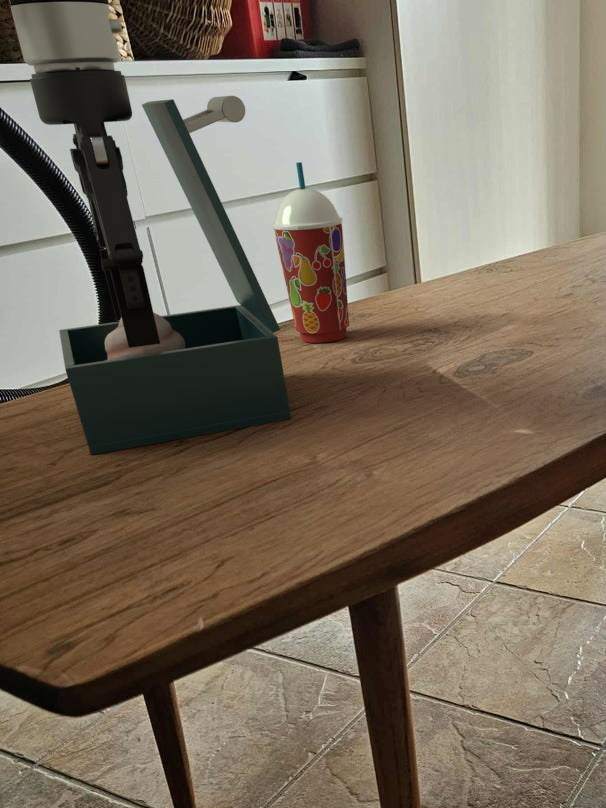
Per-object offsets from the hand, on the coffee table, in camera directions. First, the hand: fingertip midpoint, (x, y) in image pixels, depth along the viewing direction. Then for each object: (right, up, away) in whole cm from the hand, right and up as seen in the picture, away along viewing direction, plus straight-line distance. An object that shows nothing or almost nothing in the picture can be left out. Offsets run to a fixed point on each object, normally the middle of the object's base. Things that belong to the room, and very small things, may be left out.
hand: (137, 330), depth 86 cm
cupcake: (+1, -6, +4) cm, 8 cm away
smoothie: (+13, +9, +29) cm, 33 cm away
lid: (+7, +10, -2) cm, 13 cm away
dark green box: (+3, -6, +5) cm, 9 cm away
